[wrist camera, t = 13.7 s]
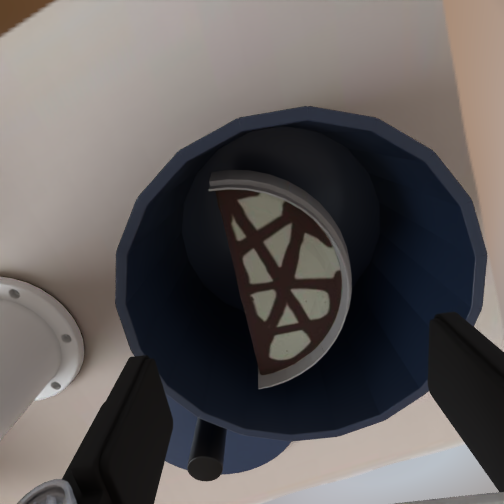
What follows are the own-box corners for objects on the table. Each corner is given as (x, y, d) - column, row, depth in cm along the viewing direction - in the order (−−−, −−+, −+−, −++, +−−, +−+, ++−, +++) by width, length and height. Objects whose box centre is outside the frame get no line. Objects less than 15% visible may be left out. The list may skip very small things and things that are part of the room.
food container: (332, 294, 27) (371, 380, 18) (259, 307, 28) (260, 397, 18) (311, 140, 23) (347, 147, 14) (226, 159, 24) (205, 177, 14)
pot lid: (154, 470, 35) (132, 543, 29) (108, 342, 30) (68, 399, 24) (308, 455, 34) (319, 528, 28) (289, 319, 29) (298, 372, 22)
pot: (201, 329, 29) (165, 454, 18) (154, 140, 24) (61, 148, 12) (385, 306, 28) (472, 423, 17) (381, 101, 23) (505, 71, 11)
